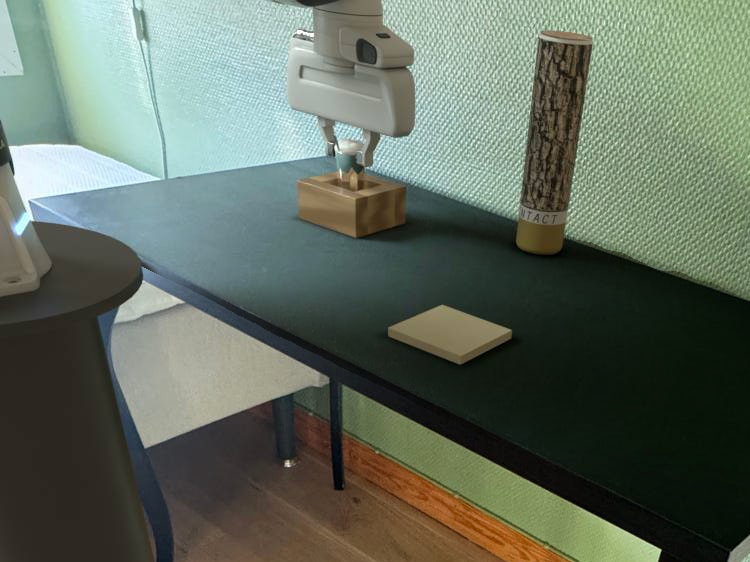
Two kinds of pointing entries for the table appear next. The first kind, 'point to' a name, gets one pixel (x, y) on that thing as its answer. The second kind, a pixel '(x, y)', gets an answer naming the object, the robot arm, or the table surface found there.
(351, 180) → the milkshake
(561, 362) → the table surface
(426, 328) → the mat
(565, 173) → the paper tube
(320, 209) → the holder
